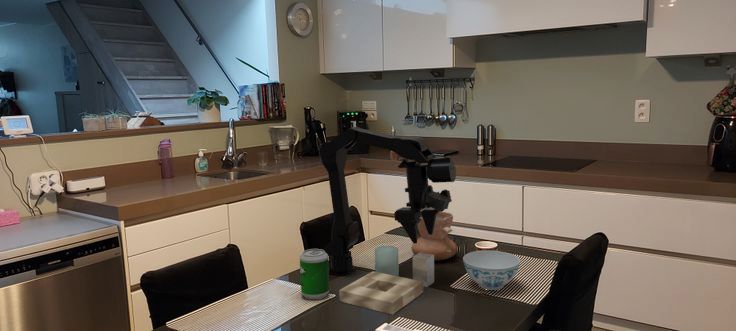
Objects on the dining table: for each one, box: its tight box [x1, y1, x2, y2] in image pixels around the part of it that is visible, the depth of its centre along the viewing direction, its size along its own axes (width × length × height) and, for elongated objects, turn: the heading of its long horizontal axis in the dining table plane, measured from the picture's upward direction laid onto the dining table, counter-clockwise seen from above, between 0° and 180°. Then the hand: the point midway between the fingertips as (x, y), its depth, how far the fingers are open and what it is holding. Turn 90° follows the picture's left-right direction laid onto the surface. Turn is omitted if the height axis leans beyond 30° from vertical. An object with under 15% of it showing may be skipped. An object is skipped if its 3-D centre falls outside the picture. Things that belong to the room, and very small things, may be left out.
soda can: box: [299, 248, 330, 300], centre depth 139 cm, size 8×8×12 cm
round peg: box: [374, 245, 400, 277], centre depth 152 cm, size 7×7×8 cm
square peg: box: [412, 252, 435, 288], centre depth 146 cm, size 4×4×8 cm
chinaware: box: [462, 250, 521, 291], centre depth 142 cm, size 15×15×8 cm
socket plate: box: [338, 270, 424, 315], centre depth 137 cm, size 16×16×3 cm
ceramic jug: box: [411, 211, 458, 262], centre depth 168 cm, size 18×14×14 cm
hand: (423, 238), depth 144 cm, fingers open, 9 cm apart
